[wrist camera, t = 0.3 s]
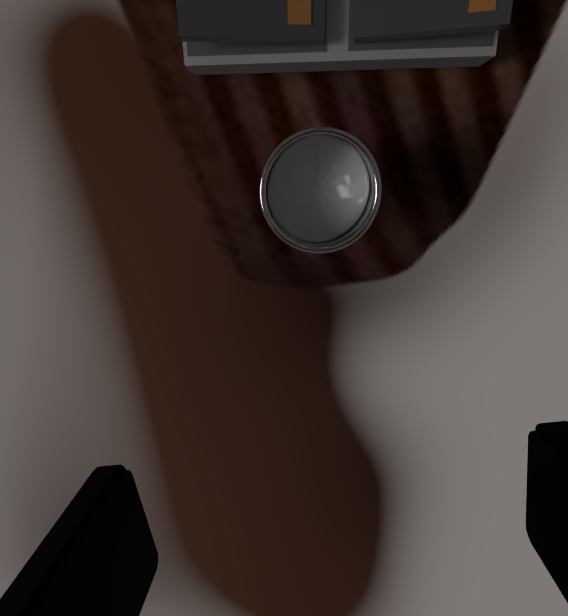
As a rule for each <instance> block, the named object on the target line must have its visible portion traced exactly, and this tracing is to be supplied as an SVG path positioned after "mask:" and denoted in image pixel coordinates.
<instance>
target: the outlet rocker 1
mask: <svg viewBox="0 0 568 616" xmlns="http://www.w3.org/2000/svg"><path fill="white" fill-rule="evenodd" d="M176 5H177V17H178V29H179V37H180V40H181V41H183V42H235V43H288V44H322V42H323V41H324V39H325V0H176Z"/></svg>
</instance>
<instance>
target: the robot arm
mask: <svg viewBox="0 0 568 616" xmlns="http://www.w3.org/2000/svg"><path fill="white" fill-rule="evenodd" d="M526 530H527V534H528V537H529V539H530V542H531V543H532V545H533V547H534V549H535V550H536V552H537V553H538V555H539V557H540V558H541V560H542V562H543V563H544V565H545V567H546V568H547V570H548V572H549V573H550V575H551V576H552V578H553V580H554V581H555V583H556V584H557V586H558V588H559V590H560V591H561V593H562V595H563V596H564V598H565V599H566V601H567V602H568V422H567V421H560V422H550V423H540V424H538V425H537V426H536V429H535V431H531V432H530V433H529V436H528V464H527V500H526ZM157 565H158V553H157V549H156V546H155V543H154V540H153V537H152V534H151V531H150V528H149V525H148V521H147V518H146V515H145V512H144V509H143V506H142V503H141V500H140V497H139V493H138V490H137V487H136V484H135V481H134V478H133V475H132V473H131V471H129V470H126V469H125V468H124V466H122V465H111V466H101V467H97V468H96V469H95V470H94V471H93V472H92V474H91V475H90V476H89V478H88V479H87V480H86V482H85V483H84V485H83V486H82V487H81V489H80V490H79V491H78V493H77V494H76V495H75V497H74V498H73V500H72V501H71V502H70V504H69V505H68V507H67V508H66V509H65V511H64V512H63V513H62V515H61V516H60V518H59V519H58V521H57V522H56V523H55V524H54V526H53V527H52V529H51V530H50V531H49V533H48V534H47V535H46V537H45V538H44V540H43V541H42V542H41V544H40V545H39V546H38V548H37V549H36V551H35V552H34V554H33V555H32V556H31V557H30V559H29V560H28V562H27V563H26V564H25V566H24V567H23V569H22V570H21V571H20V573H19V574H18V575H17V577H16V578H15V580H14V581H13V582H12V584H11V585H10V586H9V588H8V589H7V591H6V592H5V593H4V595H3V596H2V598H1V599H0V616H139V614H140V612H141V609H142V607H143V604H144V601H145V598H146V596H147V593H148V591H149V588H150V586H151V583H152V580H153V578H154V575H155V572H156V570H157Z"/></svg>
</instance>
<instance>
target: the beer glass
mask: <svg viewBox="0 0 568 616" xmlns="http://www.w3.org/2000/svg"><path fill="white" fill-rule="evenodd" d="M259 193H260V203H261V208H262V211H263V214H264V217H265V219H266V221H267V223H268V225H269V226H270V228H271V229H272V230H273V232H274V233H275V234H276V235H277V236H278V237H279V238H280V239H281V240H282V241H284V242H285V243H286V244H288V245H290V246H291V247H293V248H296V249H298V250H301V251H304V252H309V253H329V252H334V251H337V250H340V249H343V248H345V247H347V246H349V245H350V244H352V243H354V242H355V241H356V240H358V239H359V238H360V237H361V236H362V235H363V234H364V233H365V232H366V231H367V229H368V228H369V227H370V225H371V224H372V222H373V220H374V218H375V216H376V214H377V212H378V209H379V205H380V201H381V193H382V184H381V176H380V172H379V169H378V166H377V163H376V161H375V159H374V157H373V155H372V154H371V152H370V151H369V150H368V148H367V147H366V146H365V145H364V144H363V143H362V142H361V141H360V140H358V139H357V138H356V137H354V136H353V135H351V134H349V133H347V132H345V131H342V130H339V129H336V128H331V127H314V128H308V129H305V130H302V131H299V132H297V133H295V134H293V135H291V136H290V137H288V138H287V139H285V140H284V141H283V142H282V143H280V144H279V145H278V146H277V148H276V149H275V150H274V151H273V152H272V154H271V155H270V157H269V158H268V160H267V162H266V164H265V167H264V169H263V172H262V176H261V180H260V191H259Z"/></svg>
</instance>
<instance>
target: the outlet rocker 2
mask: <svg viewBox="0 0 568 616" xmlns="http://www.w3.org/2000/svg"><path fill="white" fill-rule="evenodd" d="M512 4H513V0H354V15H353V41H354V43H360V42H371V41H383V40H394V39H405V38H417V37H428V36H440V35H451V34H463V33H474V32H485V31H497V30H505V29H506V28H507V27H508V25H509V24H510V19H511V12H512Z"/></svg>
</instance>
